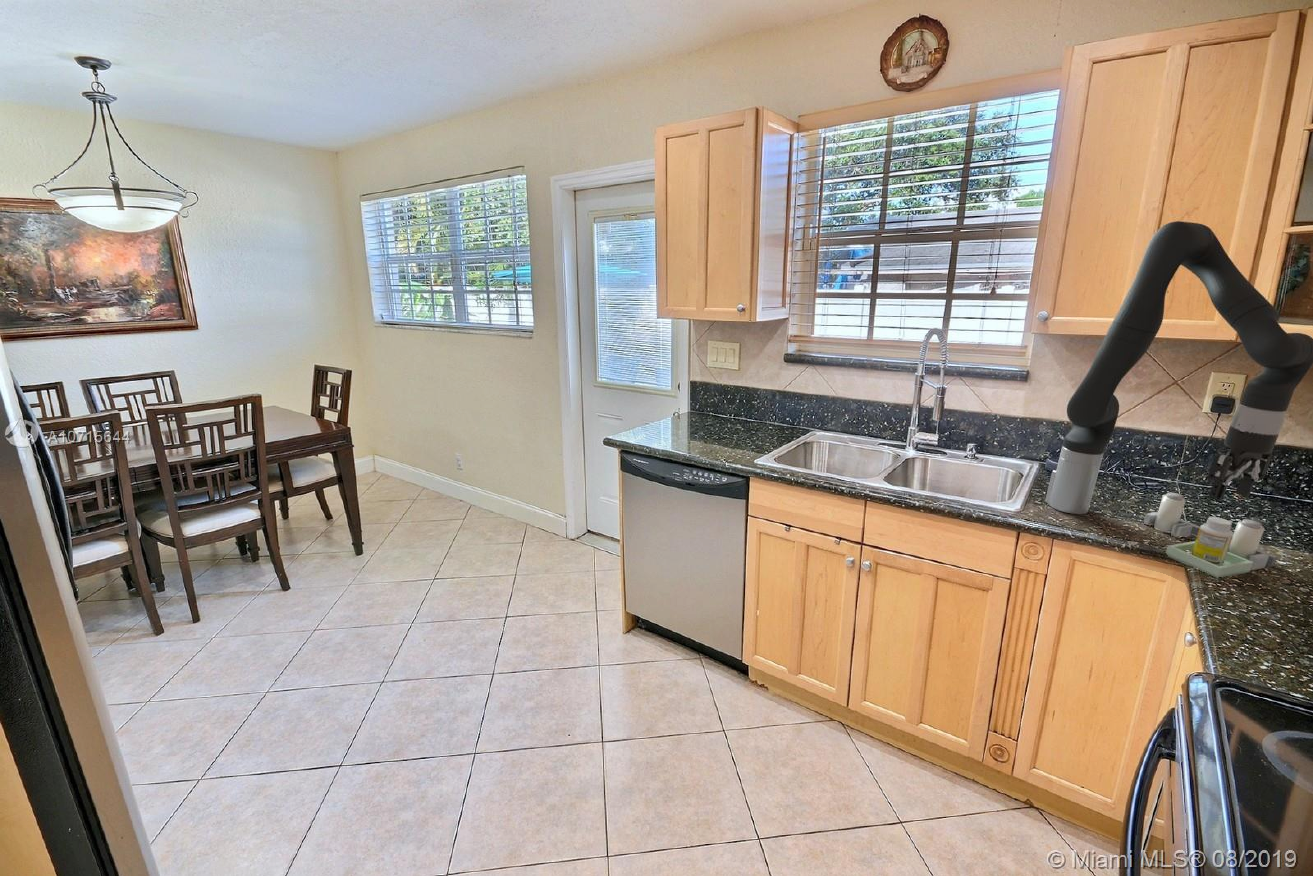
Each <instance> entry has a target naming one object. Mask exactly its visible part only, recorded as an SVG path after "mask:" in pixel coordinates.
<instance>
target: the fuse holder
mask: <svg viewBox="0 0 1313 876" xmlns="http://www.w3.org/2000/svg"><path fill="white" fill-rule="evenodd" d="M1157 514H1158V511H1155V512H1148V513H1145V515H1144V519H1143V522H1144V523H1145V524H1148V525H1150V524H1154V523H1155V520H1156V517H1157ZM1200 526H1201V525H1200ZM1200 526H1199V525H1197V524H1194V523H1191V522H1189V521H1186V520H1184V519H1181V518H1180V520H1179V523H1178V524H1175V525H1173V528H1172V531H1171V534H1173V535H1175V536H1189V537H1190V536H1191V535H1190V533H1191V534H1194V535H1196V536H1197V535H1198V532H1199V529H1200ZM1278 558H1279V557H1278V556H1277V555H1274V554H1271V553H1270V552H1269V553H1268V552H1267V551H1264V550H1262V549H1258V548H1257V550H1256V553H1255V555H1252V556H1250V559H1249V561H1252V562H1253V565H1252V567H1251V570H1250V571H1255V570H1260V569H1264V568H1266V566H1267V567H1269V568H1271V567H1275V565H1276V563H1277V559H1278Z"/></svg>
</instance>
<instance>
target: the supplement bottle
mask: <svg viewBox="0 0 1313 876" xmlns="http://www.w3.org/2000/svg"><path fill="white" fill-rule="evenodd" d="M1232 524H1233V523H1232V522H1231V521H1230V520H1227V519H1226V518H1225V519H1224V518H1222V517H1218V516H1217V517H1216V516H1209V517H1207V520H1206V523H1203V524H1201V525H1200V529H1199V532H1198V535H1197V537H1196V539H1195V540H1194V541H1195V545H1194V548H1193V551H1192V555H1194V556H1196V557H1199V558H1201V559H1203V560H1205V561H1208V562H1210V563H1212V564H1215V565H1217V566H1220V565H1222V564H1223V563H1224V560H1225V557H1226V554H1227V552H1228V549H1229V546H1230V543H1231V540H1232V537H1233V534H1234V532H1233V531H1232V530H1231V528H1232Z"/></svg>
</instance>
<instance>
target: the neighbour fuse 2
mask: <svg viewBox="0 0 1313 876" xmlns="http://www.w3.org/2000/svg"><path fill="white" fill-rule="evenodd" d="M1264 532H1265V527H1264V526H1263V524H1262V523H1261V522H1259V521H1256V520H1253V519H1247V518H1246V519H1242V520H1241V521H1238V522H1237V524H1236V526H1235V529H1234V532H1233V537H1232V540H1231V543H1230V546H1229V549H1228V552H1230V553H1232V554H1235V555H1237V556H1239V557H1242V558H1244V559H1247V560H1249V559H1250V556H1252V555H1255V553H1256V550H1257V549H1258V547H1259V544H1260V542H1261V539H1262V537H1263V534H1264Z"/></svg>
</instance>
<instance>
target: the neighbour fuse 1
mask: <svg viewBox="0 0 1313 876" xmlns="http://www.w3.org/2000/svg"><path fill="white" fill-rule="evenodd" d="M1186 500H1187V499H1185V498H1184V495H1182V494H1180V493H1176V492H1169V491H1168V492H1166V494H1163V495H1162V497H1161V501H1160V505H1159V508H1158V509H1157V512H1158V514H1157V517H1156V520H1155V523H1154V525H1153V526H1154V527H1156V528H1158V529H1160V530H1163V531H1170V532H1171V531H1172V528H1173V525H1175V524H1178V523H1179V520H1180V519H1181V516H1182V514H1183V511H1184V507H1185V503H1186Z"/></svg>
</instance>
